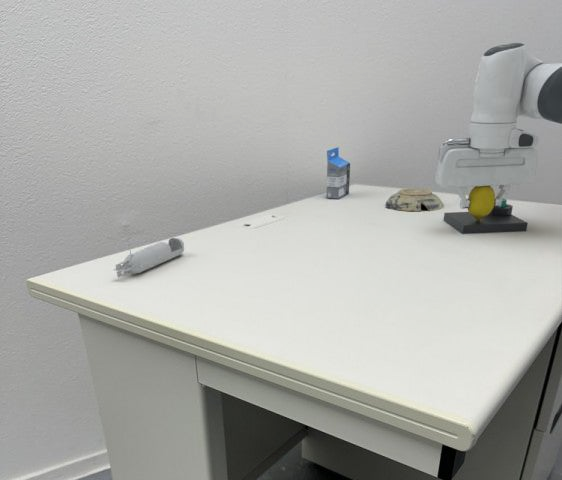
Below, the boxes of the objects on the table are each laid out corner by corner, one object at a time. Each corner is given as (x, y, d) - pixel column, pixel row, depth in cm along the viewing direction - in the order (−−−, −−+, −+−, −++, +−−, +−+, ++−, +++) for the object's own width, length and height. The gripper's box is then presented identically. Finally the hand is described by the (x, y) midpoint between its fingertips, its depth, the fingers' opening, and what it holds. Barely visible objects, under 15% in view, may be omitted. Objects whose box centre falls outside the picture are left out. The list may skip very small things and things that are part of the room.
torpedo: (171, 251, 109) (167, 218, 106) (191, 254, 108) (187, 221, 104) (108, 279, 96) (101, 242, 92) (129, 283, 94) (122, 245, 91)
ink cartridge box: (339, 199, 150) (340, 151, 144) (325, 198, 151) (326, 150, 145) (349, 193, 157) (351, 147, 151) (336, 192, 158) (338, 146, 152)
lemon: (497, 222, 117) (503, 183, 113) (475, 224, 115) (481, 185, 111) (480, 216, 121) (486, 178, 117) (459, 219, 120) (464, 181, 116)
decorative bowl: (417, 197, 150) (372, 203, 144) (419, 183, 148) (373, 188, 142) (455, 208, 138) (408, 215, 132) (458, 193, 136) (410, 199, 130)
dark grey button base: (502, 217, 128) (505, 202, 126) (528, 231, 117) (531, 214, 115) (442, 220, 127) (444, 205, 125) (462, 234, 116) (464, 217, 114)
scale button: (502, 205, 125) (503, 197, 124) (507, 208, 122) (509, 200, 121) (489, 206, 125) (490, 198, 124) (494, 209, 122) (496, 201, 121)
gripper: (445, 141, 107) (437, 212, 114) (546, 137, 108) (532, 208, 115) (435, 137, 112) (428, 206, 119) (531, 134, 113) (518, 202, 120)
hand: (480, 207), depth 117 cm, fingers closed on lemon, 6 cm apart
